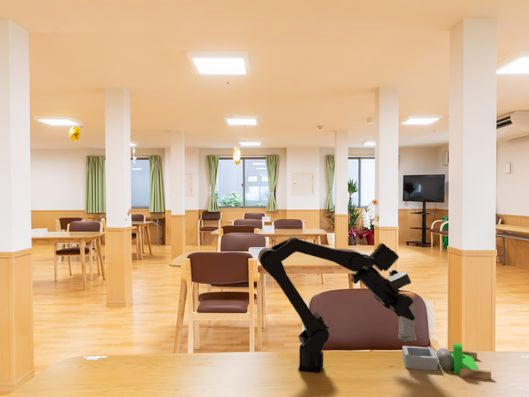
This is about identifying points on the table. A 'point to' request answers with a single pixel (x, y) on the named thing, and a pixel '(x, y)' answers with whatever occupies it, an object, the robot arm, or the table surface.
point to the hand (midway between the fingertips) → (411, 317)
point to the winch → (426, 358)
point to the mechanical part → (461, 359)
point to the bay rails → (470, 372)
